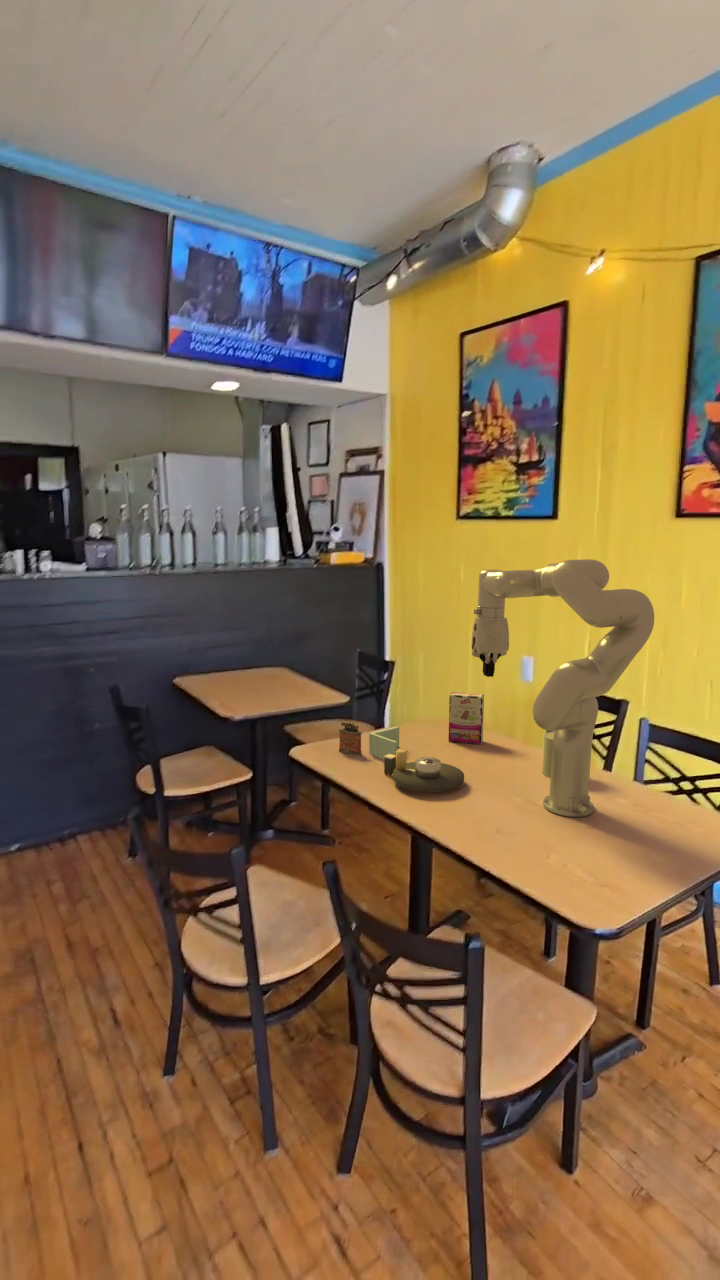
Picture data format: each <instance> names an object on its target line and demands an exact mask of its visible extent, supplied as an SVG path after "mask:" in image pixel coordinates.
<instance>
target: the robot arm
mask: <svg viewBox="0 0 720 1280" xmlns="http://www.w3.org/2000/svg"><path fill="white" fill-rule="evenodd" d="M609 581H610V572H609V569H608V567H607V566H606V565H605V564H604V563H603V562H601V561H600V560H597V559H589V558H587V559H568V560H563V561H561V562H557V563H549V564H547V565H545V566H544V568H536V569H521V570H520V569H519V570H518V569H517V570H513V569H511V570H502V569H483V570H481V571H480V572H479V576H478V595H477V596H478V597H477V599H478V600H477V607H476V609H474V610H473V614H474V615H476V617H475V618H474V623H473V628H472V636H471V650H472V651H471V656H472V657H474V658H478V659H479V660H480V662H482V674H483V676H485V677H487V678H491V677H494V675H495V674H494V673H495V669H496V668H495V667H496V666H495V665H496V663H497V661H498V660H499V659H500V658H501V657H503V656H506V655H507V654H508V653H507V652H508V651H509V648H510V629H509V623H508V618H507V617H505V610H506V609H505V608H506V606H505V605H506V599H515V598H516V599H517V598H532V597H533V598H534V597H543V596H548V597H551V598H555V597H556V598H557V597H560V598H561V599H562V600H563V601H564V602H565V603H566V604H567V605H568V606H569V607H570V608H571V609H572V610H573V611H574V612H575V614H576V615H577V616H578V617H580V619H581V620H583V621H584V622H585V623H586V624H588V625H590V626H591V627H593V628H598V629H599V628H611V627H613V628H612V629H610V630H609V631H608V632H607V633H606V634H605V635H604V636H603V637H602V638H601V639H600V640H599V641H598V642H597V644H596V646H595V647H594V649H593V650H592V651H591V653H590V654H589V655H588V656H586V657H584V658H579V659H573V660H569V661H567V662H564V663H562V664H561V665H559V666H558V667H557V668H556V669H555V670H553V672H552V674H551V676H550V677H549V679H548V680H547V681H546V683H545V684H544V686H543V687H542V689H541V691H540V692H539V693H538V695H537V696H536V698H535V701H534V702H533V705H532V716H533V720H534V723H536V725H537V726H538V727H539V728H541V729H542V730H545V731H549V732H555V734H554V738H553V747H552V763H551V778H550V781H549V782H550V783H549V795H547V796H545V797H544V798H543V799H542V805H543V807H544V809H546V810H547V811H548V812H551V813H553V814H556V815H558V816H565V817H569V818H570V817H574V818H579V817H587V816H590V815H591V814H593V812H594V811H595V808H596V807H595V805H594V804H593V803H592V801H591V796H590V795H589V792H590V791H589V788H590V774H591V760H592V747H593V746H592V745H593V736H594V730H595V726H596V722H597V718H598V713H599V703H598V700H597V697H600V696H603V695H606V694H607V693H609V692H610V691H611V689H612V688H613V687H614V685H615V684H616V683H617V682H618V680H619V678H621V676H622V674H623V673H624V672H625V671H626V669H627V668H628V667H629V665H630V664H631V662H632V661H633V660H634V658H635V657H636V656H637V655H638V654H639V652H640V651H641V650H642V649H643V647H644V646H645V645H646V643H647V642H648V640H649V638H650V637H651V634H652V632H653V629H654V626H655V611H654V606H653V604H652V601H651V600H650V598H649V597H648V596H647V595H646V594H645V593H643V592H642V591H639V590H637V589H631V588H620V589H604V588H605V587H606V586H607V584H609Z"/></svg>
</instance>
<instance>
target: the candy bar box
mask: <svg viewBox="0 0 720 1280" xmlns="http://www.w3.org/2000/svg"><path fill="white" fill-rule="evenodd" d="M448 701H449V702H448V704H449V707H448V708H449V710H448V715H449V716H448V742H449V743H457V744H458V743H460V744H470V745H482V743H483V740H484V711H485V709H484V707H485V706H484V704H485V694H484V693H483V694H482V693H470V692H469V693H468V692H455V691H452V692H451V693H450V694H449V699H448Z"/></svg>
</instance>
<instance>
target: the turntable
mask: <svg viewBox="0 0 720 1280" xmlns="http://www.w3.org/2000/svg"><path fill="white" fill-rule="evenodd" d="M407 753H408V752H407V751H406V750H405V749H403V750H397V751H396V768H395V769H394V770H393V775H392V780H393V782H395V784H397V785H398V786H400V787H402V788H403V789H407V790H411V791H416V792H423V793H441V792H442V793H443V792H449V791H452V790H456V789H458V788H460V787H462V786H463V785H464V782H465V773H464V772H463V770H461V769H460V768H458V767H456V766H454V765H451V764H448V763H443V762H441V769H440V777H439V778H437V779H432V780H427V779H421V778H418V777H416V776H415V762H416V761H413V762H411V761H410V762H407V755H406V754H407Z"/></svg>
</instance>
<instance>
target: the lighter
mask: <svg viewBox="0 0 720 1280" xmlns="http://www.w3.org/2000/svg"><path fill="white" fill-rule="evenodd" d="M340 724H341V725H340V726H343V727H339V728H338V733H339V748H338V752H339V753H341V752H342V753H343V754H345V753H346V755H349V754H352V755H351V756H356V755H359V756H361V755H362V752H363V751H362V734H363V731H362V730H360V729H359V724H358V723H357V724H356V723H355V722H353V721H352V722H349V721H344V720H343V721H341V722H340ZM342 753H341V754H342Z"/></svg>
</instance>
